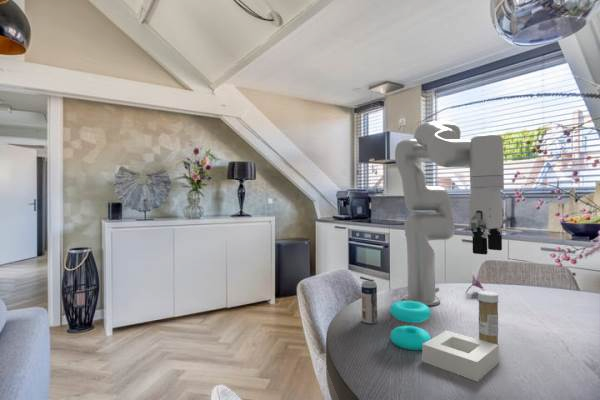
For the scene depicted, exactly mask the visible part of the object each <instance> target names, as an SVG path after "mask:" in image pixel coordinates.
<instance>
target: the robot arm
mask: <svg viewBox="0 0 600 400" xmlns="http://www.w3.org/2000/svg"><path fill="white" fill-rule="evenodd" d="M394 160H395V165H396V167H397V169H398V172H399V174H400V177H401V182H402V190H403V198H404V204H405V207H406V209H407V210H408V211H410V212H414V213H417V212H419V213H421V214H412V215H410V216H408V217H407V218H406V219H405V221H404V224H403V225H404V226H403V227H404V233H405V234H404V235H405V239H406V247H407V248H406V251H407V252H406V253H407V256H406V257H407V261H406V262H407V293H406V294H405V295H403V301H415V302H420V303H423V304H425V305H427V306H428V307H429V306H437V305H439V304H440V303H441V298H439V296H437V295H436V293H438V292H439V291H440V288H439V287H438V286H436V255H435V250H434V249H433V247H432V246H431V244H430V243H429V241H445V240H446V241H447V240H450V239H452V238H453V237H454V235H455V230H456V229H455V225H456V224H455V220H454V213H453V209H452V208H453V207H452V202H451V198H450V195H449V192H448V191H447V190H446V189H445V188H444V187H443V186H432V185H431V186H429V185H428V184H427V182H426V176H425V173H424V171H423V170H422V168H420V167H419V166H418V165H417V164H416V163H422V162H423V163H427V162H428V163H429V162H430V163H434V164H435V165H437V166H440V167H443V168H469V187H470V188H469V190H470V195H469V196H470V197H469V207H468V226H469V228H470V230H471V237H472V253H473V254H476V255H484V256H486V255H488V250H493V251H502V250H503V231H502V227H503V217H504V216H503V215H504V214H503V199H502V190H504V189H505V179H504V178H505V176H504V175H505V173H504V168H505V167H504V163H505V162H504V139H503V137H502V136H501V135H500V134H496V133H487V134H485V133H484V134H481V135H475V136H473V137H472V138H471V139H461V129H460V127H459V125H458V124H456V123H455V122H451V121H427V122H424V123H422V124H420V125H419V126H417V128H416V130H415V131H414V138H410V139H404V140H400V141H399V142H398V143H397V144H396V147H395V150H394ZM427 212H429V213H427ZM422 213H423V214H422ZM425 213H427V214H425ZM430 213H434V214H430ZM487 233H488V234H487Z"/></svg>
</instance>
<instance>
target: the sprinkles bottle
mask: <svg viewBox="0 0 600 400" xmlns="http://www.w3.org/2000/svg"><path fill="white" fill-rule="evenodd" d="M477 301H478V339H479V340H482V341H486V342H489V343H493V344H496V345H499V311H498V308H499V305H498V304H499V294H498V293H497V292H494V291H491V290H484V291H483V290H480V291H478V292H477Z"/></svg>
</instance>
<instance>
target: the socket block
mask: <svg viewBox="0 0 600 400" xmlns="http://www.w3.org/2000/svg"><path fill="white" fill-rule="evenodd" d="M421 351H422V355H421V358H422V362H423V363H425V364H428V365H430V366H434V367H436V368H439V369H442V370H444V371H447V372H450V373H452V374H456V375H457V376H460V375H461V376H460V377H463V376H464V378H466V379H469V380H472V381H474V382H479V381H480V380H482V378H484V377H485V376H487V374H488V373H490V371H492V369H493V368H495V367H496V366H497V365H498V364H500V358H499V357H500V356H499V352H500V351H499V344H498V345H496V344H493V343H489V342H486V341H482V340H479V338H475V337H471V336H467V335H465V334H464V335H463V334H460V333H457V332H453V331H450V330H445V331H443V332H441V333H440V334H438V335H436V336H434V337H432V338H431V339H430V340H429V341H427V342H425V343H423V344H422V349H421ZM495 365H496V366H495ZM484 375H485V376H484Z"/></svg>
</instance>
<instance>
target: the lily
mask: <svg viewBox="0 0 600 400" xmlns="http://www.w3.org/2000/svg"><path fill="white" fill-rule="evenodd" d="M469 270H470V272H469V273H470V275H471V276H472V282H471V285H470V286H469V287H468V288H467V290H466V291H465V294H467V293H468V292H469V289H471V288H472V287H476V288H479V289H480V290H481V291H487V289H486V288H485V286H484V285H483V284H482V280H481V279H480V280H478V279H477V278H476V275H475V273H474V271H473V270H472V269H471V268H469Z"/></svg>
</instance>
